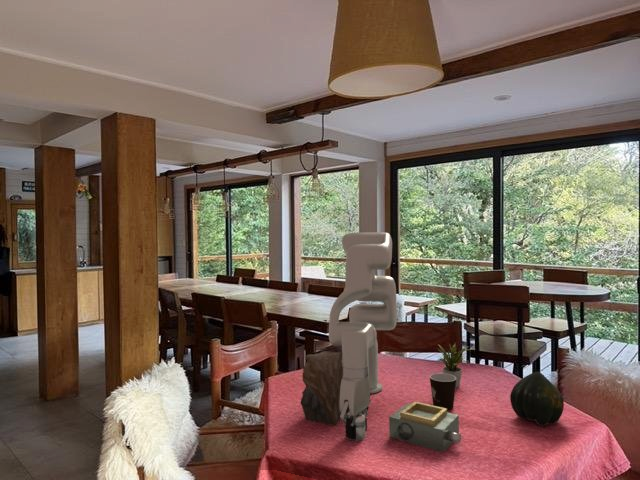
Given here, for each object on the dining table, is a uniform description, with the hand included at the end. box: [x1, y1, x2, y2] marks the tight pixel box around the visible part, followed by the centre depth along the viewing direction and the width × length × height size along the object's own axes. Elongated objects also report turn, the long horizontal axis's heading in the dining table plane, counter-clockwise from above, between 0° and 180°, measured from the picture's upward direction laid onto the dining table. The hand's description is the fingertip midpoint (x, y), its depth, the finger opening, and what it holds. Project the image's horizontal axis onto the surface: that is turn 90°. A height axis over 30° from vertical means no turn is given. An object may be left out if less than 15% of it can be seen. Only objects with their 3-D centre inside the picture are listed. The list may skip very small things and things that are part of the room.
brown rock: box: [300, 350, 343, 426], centre depth 148 cm, size 13×13×20 cm
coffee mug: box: [429, 372, 456, 412], centre depth 154 cm, size 12×9×10 cm
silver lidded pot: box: [347, 411, 367, 442], centre depth 132 cm, size 5×5×8 cm
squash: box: [509, 370, 565, 427], centre depth 142 cm, size 14×15×15 cm
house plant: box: [436, 342, 472, 389], centre depth 172 cm, size 14×14×16 cm
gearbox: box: [388, 401, 462, 453], centre depth 131 cm, size 19×13×8 cm, turn 54°
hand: (356, 433), depth 132 cm, fingers closed on silver lidded pot, 5 cm apart
